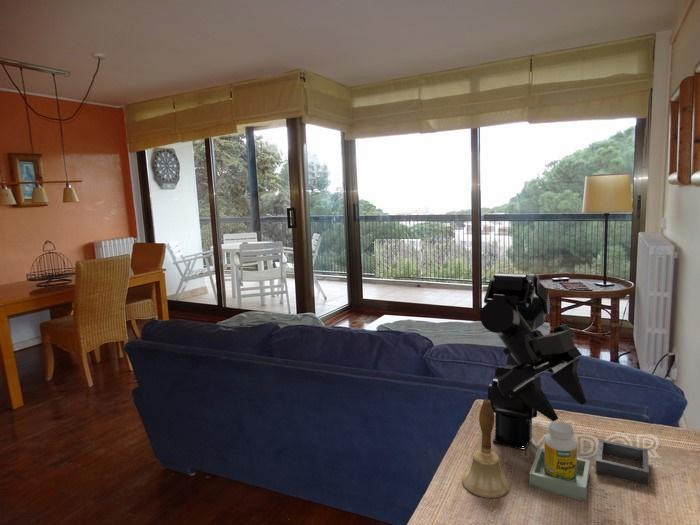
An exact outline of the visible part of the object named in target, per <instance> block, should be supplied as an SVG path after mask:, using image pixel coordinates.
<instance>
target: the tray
mask: <svg viewBox="0 0 700 525" xmlns="http://www.w3.org/2000/svg"><path fill="white" fill-rule="evenodd" d="M544 461H545V449H543V448H542V449H541V448H537V451H536V454H535V456H534V460H533V462H532V464H531V465H532V466H531V469H530V471H529V479H528V480H529V483H528V486H529V487H530V488H535V489H538V490H541V491H546V492H548V493H552V494H556V495H560V496H563V497H568V498H571V499H575V500H579V501H582V502H586V499H587V492H588V486H589V478H590V473H591V471H590V470H591V467H590V466H591V460H589V459H586V458H581V457H577V477H576V479H575V481H574V482H570V481H566V480H562V479H558V478H554V477H550V476H547V475H545V471H544V467H545V466H544Z"/></svg>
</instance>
